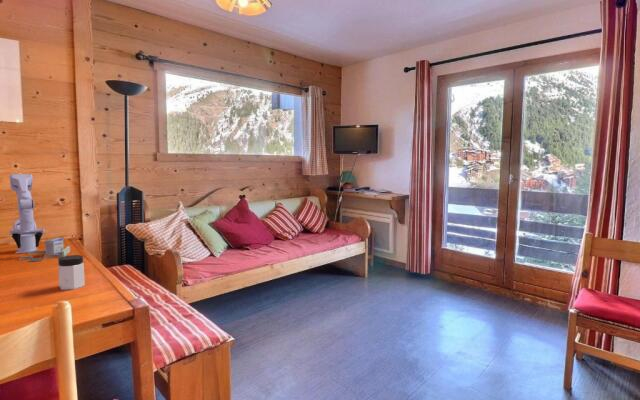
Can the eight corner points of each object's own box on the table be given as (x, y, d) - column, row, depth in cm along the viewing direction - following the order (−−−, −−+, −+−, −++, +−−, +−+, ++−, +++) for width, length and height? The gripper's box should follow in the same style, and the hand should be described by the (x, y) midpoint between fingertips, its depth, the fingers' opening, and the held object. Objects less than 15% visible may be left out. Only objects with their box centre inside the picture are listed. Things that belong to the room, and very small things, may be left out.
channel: (28, 254, 198) (28, 248, 198) (70, 251, 206) (69, 246, 206) (19, 260, 186) (19, 254, 185) (64, 256, 193) (64, 251, 193)
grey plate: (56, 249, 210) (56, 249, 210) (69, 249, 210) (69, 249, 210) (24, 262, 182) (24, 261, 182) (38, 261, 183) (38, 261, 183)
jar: (54, 290, 140) (52, 260, 139) (64, 284, 148) (62, 255, 147) (80, 289, 142) (79, 259, 141) (88, 282, 150) (87, 254, 149)
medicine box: (54, 256, 194) (53, 240, 193) (45, 256, 193) (44, 240, 193) (64, 253, 201) (63, 237, 201) (55, 253, 201) (54, 237, 200)
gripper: (6, 223, 184) (8, 249, 186) (41, 222, 190) (42, 247, 192) (11, 221, 191) (13, 247, 192) (45, 220, 197) (46, 244, 198)
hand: (28, 247), depth 192 cm, fingers open, 7 cm apart
